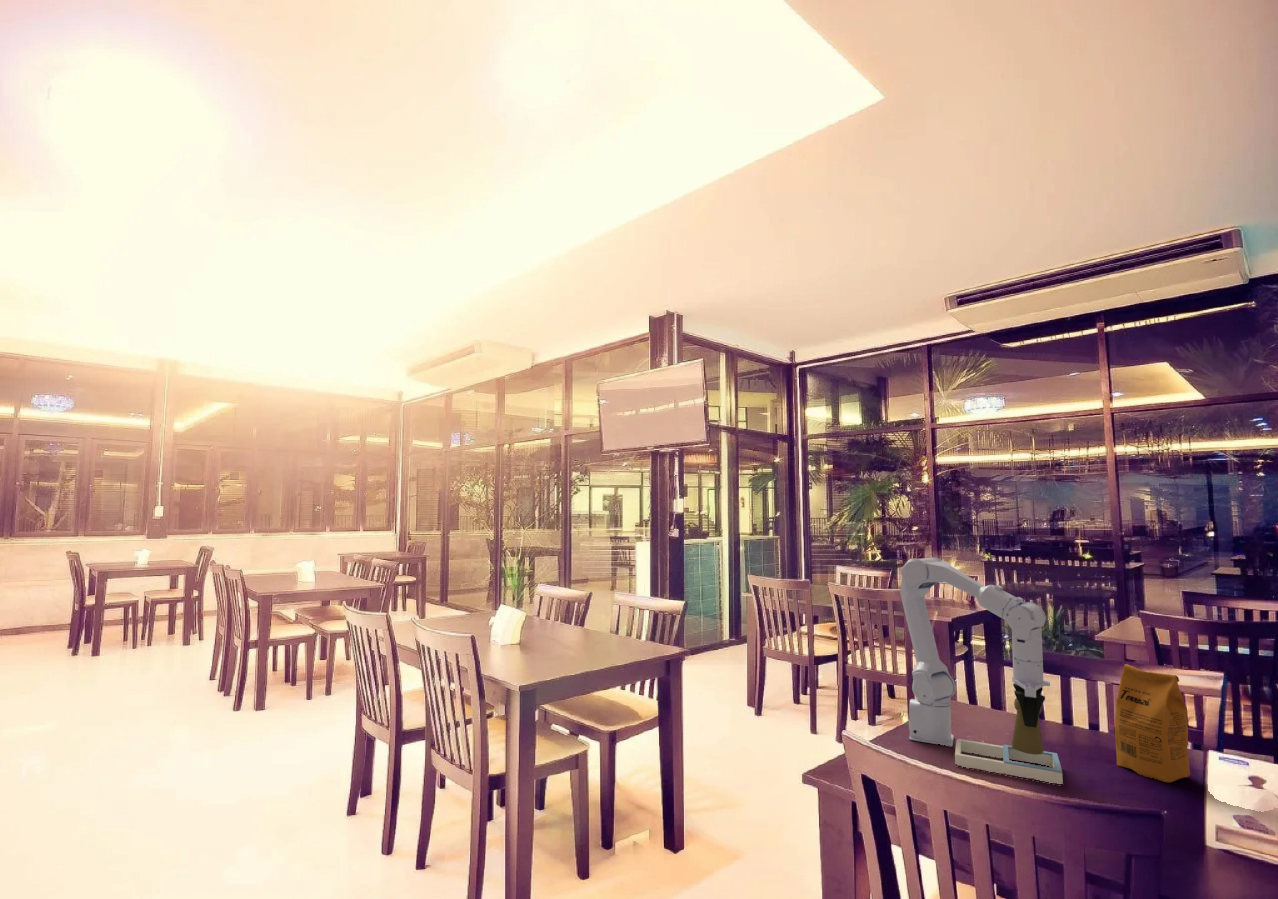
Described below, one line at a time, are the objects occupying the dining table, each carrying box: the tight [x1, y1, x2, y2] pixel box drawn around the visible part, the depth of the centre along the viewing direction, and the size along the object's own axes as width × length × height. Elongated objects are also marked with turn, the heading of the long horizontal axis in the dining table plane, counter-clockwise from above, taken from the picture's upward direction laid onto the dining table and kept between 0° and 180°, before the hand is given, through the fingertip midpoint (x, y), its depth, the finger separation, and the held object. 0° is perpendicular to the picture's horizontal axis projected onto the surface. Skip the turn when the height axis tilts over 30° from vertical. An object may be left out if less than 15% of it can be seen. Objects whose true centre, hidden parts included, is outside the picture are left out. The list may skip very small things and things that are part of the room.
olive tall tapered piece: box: [1010, 697, 1044, 755], centre depth 141 cm, size 6×6×11 cm
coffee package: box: [1114, 663, 1191, 783], centre depth 142 cm, size 10×12×22 cm
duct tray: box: [954, 738, 1064, 785], centre depth 143 cm, size 20×11×3 cm, turn 62°
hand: (1029, 722), depth 141 cm, fingers closed on olive tall tapered piece, 5 cm apart
